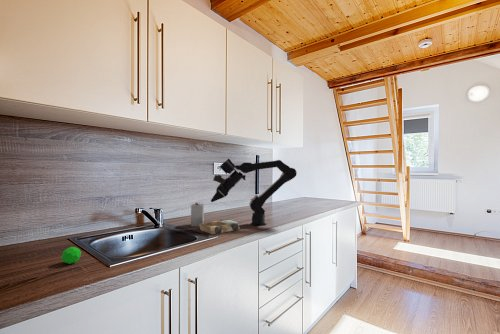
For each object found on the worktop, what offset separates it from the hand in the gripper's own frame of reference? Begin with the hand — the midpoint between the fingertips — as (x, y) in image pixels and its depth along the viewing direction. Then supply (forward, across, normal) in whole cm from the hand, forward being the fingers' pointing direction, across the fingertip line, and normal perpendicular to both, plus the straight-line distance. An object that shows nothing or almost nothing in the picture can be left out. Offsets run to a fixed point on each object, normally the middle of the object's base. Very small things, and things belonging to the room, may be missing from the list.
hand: (211, 200), depth 134 cm
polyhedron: (+38, +52, -19) cm, 67 cm away
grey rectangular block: (+15, 0, +4) cm, 15 cm away
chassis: (+6, +11, +13) cm, 18 cm away
